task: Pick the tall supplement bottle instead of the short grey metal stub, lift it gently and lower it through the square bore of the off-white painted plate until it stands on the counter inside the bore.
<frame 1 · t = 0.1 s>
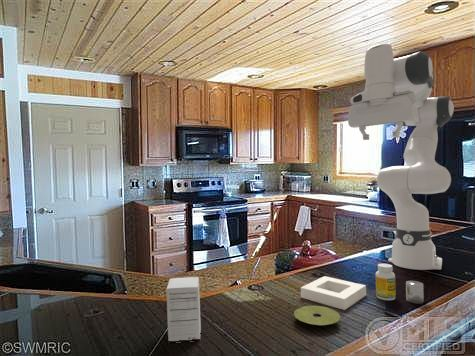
hand: (380, 138, 105), 48 cm above the countertop, tool pointing down, fingers open, 8 cm apart
short stub: (414, 300, 94), on the countertop
supplement box: (185, 335, 78), on the countertop
bore plate: (333, 296, 99), on the countertop
green disc: (316, 322, 82), on the countertop
supplement bottle: (385, 298, 97), on the countertop
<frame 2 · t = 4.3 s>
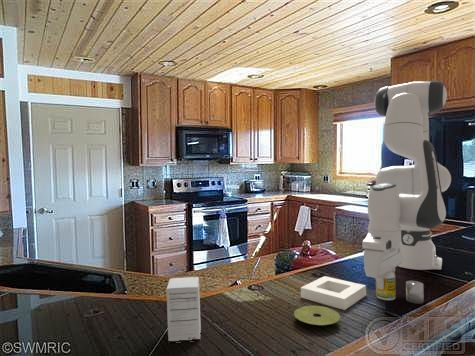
hand: (385, 285, 97), 4 cm above the countertop, tool pointing down, fingers closed on supplement bottle, 5 cm apart
supplement bottle: (385, 298, 97), on the countertop, touching gripper
everything else where it was.
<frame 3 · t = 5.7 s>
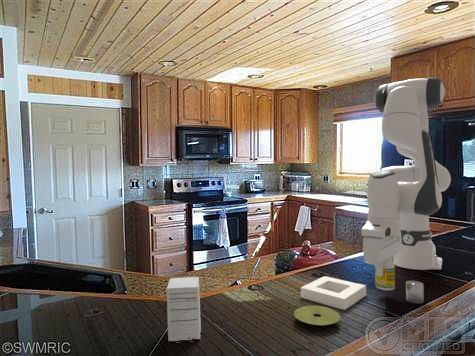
hand: (384, 272, 97), 7 cm above the countertop, tool pointing down, fingers closed on supplement bottle, 5 cm apart
supplement bottle: (385, 288, 97), point 3 cm above the countertop, touching gripper
everything else where it was.
when the fingers open (5 cm above the countertop, at t = 12.6 s): supplement bottle stays where it is, resting in bore plate.
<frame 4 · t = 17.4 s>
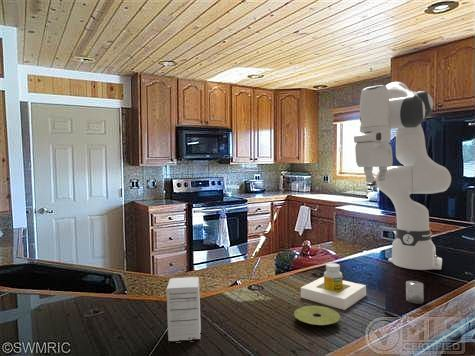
hand: (376, 181, 103), 34 cm above the countertop, tool pointing down, fingers open, 8 cm apart
supplement bottle: (333, 297, 99), resting in bore plate
everything else where it was.
at the end: supplement bottle 0.1 cm off-centre on the bore plate, point 0.0 cm above the bore plate's base; supplement bottle tilted 0°; short stub moved 0.1 cm from its start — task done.
